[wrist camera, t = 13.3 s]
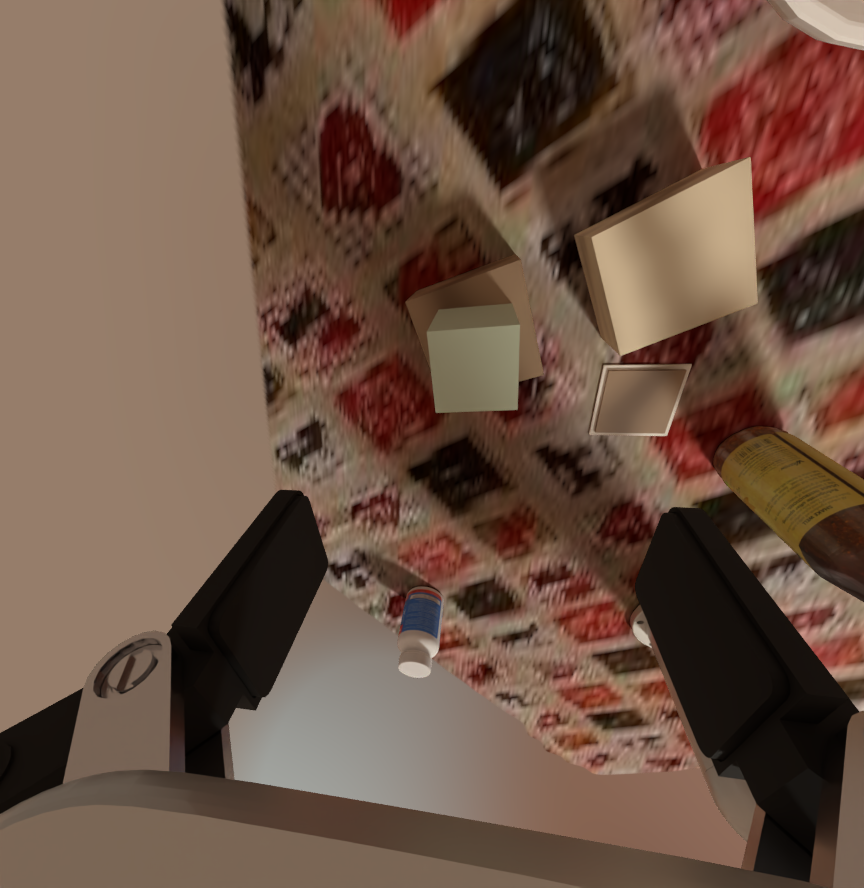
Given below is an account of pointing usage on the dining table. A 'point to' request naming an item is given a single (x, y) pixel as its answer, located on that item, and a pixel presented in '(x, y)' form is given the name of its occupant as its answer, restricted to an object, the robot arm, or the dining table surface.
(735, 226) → the beech block
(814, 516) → the sauce bottle
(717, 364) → the dining table surface
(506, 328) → the sage block
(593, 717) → the dining table surface
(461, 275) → the tan square block
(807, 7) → the bowl
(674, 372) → the swatch
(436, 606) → the pill bottle
